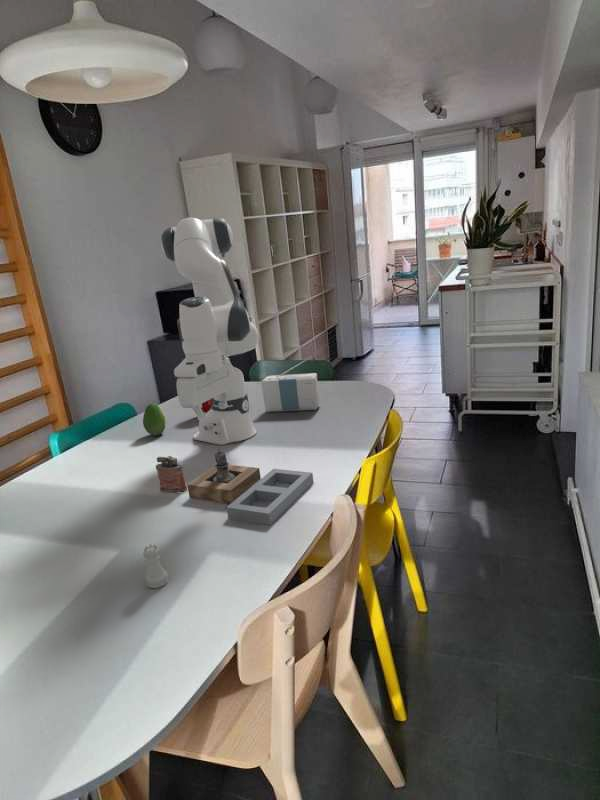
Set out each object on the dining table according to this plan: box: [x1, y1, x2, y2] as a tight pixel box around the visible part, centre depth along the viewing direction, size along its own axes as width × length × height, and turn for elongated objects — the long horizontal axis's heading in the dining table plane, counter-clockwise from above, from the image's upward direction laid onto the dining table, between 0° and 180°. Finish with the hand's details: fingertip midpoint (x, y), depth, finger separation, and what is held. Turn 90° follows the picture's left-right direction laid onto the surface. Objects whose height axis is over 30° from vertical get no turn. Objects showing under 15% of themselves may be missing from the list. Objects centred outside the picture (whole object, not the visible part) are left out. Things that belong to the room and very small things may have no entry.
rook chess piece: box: [142, 543, 169, 589], centre depth 109 cm, size 4×4×8 cm
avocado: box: [142, 402, 166, 437], centre depth 200 cm, size 8×8×12 cm
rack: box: [225, 468, 314, 526], centre depth 139 cm, size 12×23×3 cm, turn 153°
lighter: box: [155, 455, 188, 494], centre depth 151 cm, size 8×3×10 cm, turn 71°
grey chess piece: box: [213, 448, 235, 483], centre depth 147 cm, size 6×6×12 cm
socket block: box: [186, 464, 262, 505], centre depth 148 cm, size 14×14×4 cm
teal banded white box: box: [261, 356, 321, 413], centre depth 210 cm, size 21×8×20 cm, turn 77°
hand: (213, 414), depth 142 cm, fingers open, 8 cm apart
